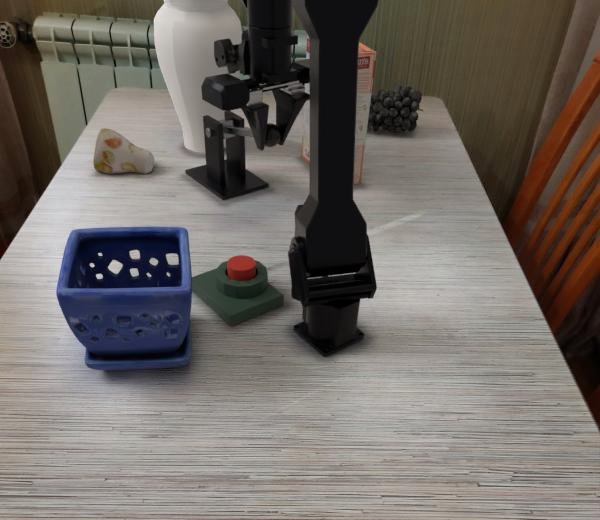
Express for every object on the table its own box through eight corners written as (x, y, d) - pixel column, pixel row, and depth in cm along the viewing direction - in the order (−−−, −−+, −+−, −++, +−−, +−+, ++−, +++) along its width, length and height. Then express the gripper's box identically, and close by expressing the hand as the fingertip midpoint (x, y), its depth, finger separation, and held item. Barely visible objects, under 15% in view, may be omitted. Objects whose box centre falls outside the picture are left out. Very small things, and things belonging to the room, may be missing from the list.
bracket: (268, 190, 101) (268, 123, 94) (223, 203, 97) (219, 135, 90) (229, 164, 108) (227, 101, 100) (185, 176, 104) (179, 110, 96)
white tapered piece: (157, 183, 102) (118, 134, 94) (113, 200, 106) (72, 155, 98) (166, 155, 106) (129, 106, 98) (123, 173, 110) (84, 127, 102)
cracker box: (362, 186, 104) (378, 50, 89) (330, 191, 102) (341, 53, 87) (330, 154, 113) (339, 26, 98) (300, 158, 111) (305, 28, 97)
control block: (284, 304, 78) (285, 281, 76) (231, 327, 74) (229, 303, 72) (242, 270, 83) (241, 247, 81) (189, 288, 80) (187, 265, 77)
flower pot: (198, 308, 77) (189, 222, 68) (200, 378, 67) (191, 288, 59) (90, 314, 75) (68, 226, 67) (77, 386, 66) (50, 294, 57)
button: (261, 276, 77) (261, 264, 76) (237, 285, 75) (237, 273, 74) (245, 264, 79) (245, 252, 78) (222, 272, 77) (221, 260, 76)
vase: (153, 140, 114) (129, -49, 94) (222, 127, 120) (213, -53, 100) (187, 169, 106) (169, -31, 85) (259, 153, 112) (258, -38, 92)
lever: (286, 145, 88) (283, 121, 86) (268, 150, 86) (265, 126, 84) (229, 137, 99) (226, 115, 97) (212, 141, 97) (209, 119, 96)
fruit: (348, 82, 115) (428, 85, 114) (348, 84, 122) (422, 87, 122) (345, 132, 119) (422, 135, 118) (345, 131, 126) (417, 134, 126)
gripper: (290, 5, 86) (288, 118, 97) (174, 19, 78) (186, 142, 89) (340, 20, 80) (332, 140, 91) (220, 38, 71) (227, 168, 82)
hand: (270, 146), depth 88 cm, fingers closed on lever, 3 cm apart
